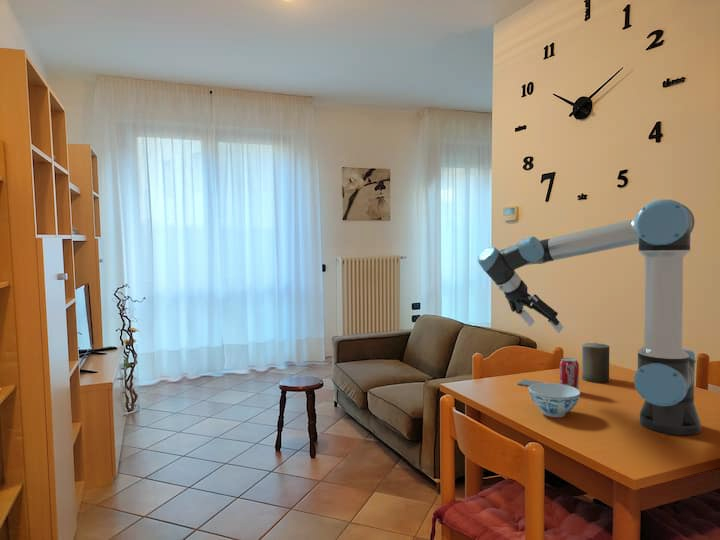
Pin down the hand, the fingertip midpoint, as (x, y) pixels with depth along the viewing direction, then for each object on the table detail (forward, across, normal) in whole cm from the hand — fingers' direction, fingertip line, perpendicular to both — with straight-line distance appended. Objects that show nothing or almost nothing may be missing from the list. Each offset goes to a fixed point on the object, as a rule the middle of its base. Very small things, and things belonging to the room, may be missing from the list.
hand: (545, 326), depth 169 cm
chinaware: (+10, +15, -25) cm, 31 cm away
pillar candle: (+41, -8, +6) cm, 42 cm away
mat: (+21, -12, -14) cm, 28 cm away
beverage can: (+25, 0, -10) cm, 27 cm away
